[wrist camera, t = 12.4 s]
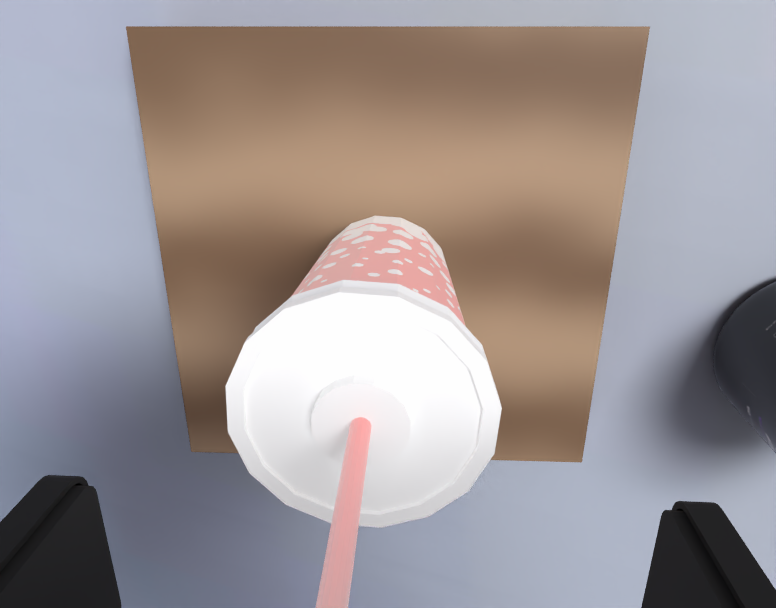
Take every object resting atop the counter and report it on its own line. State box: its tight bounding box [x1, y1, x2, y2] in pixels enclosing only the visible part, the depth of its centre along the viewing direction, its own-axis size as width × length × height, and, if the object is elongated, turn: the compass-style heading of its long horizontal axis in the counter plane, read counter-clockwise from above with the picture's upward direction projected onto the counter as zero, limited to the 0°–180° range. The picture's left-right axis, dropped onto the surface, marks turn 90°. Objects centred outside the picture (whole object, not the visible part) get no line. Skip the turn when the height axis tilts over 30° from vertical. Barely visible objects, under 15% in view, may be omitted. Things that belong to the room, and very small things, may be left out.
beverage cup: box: [225, 216, 502, 608], centre depth 15 cm, size 6×6×14 cm
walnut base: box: [126, 27, 650, 462], centre depth 23 cm, size 16×16×3 cm
